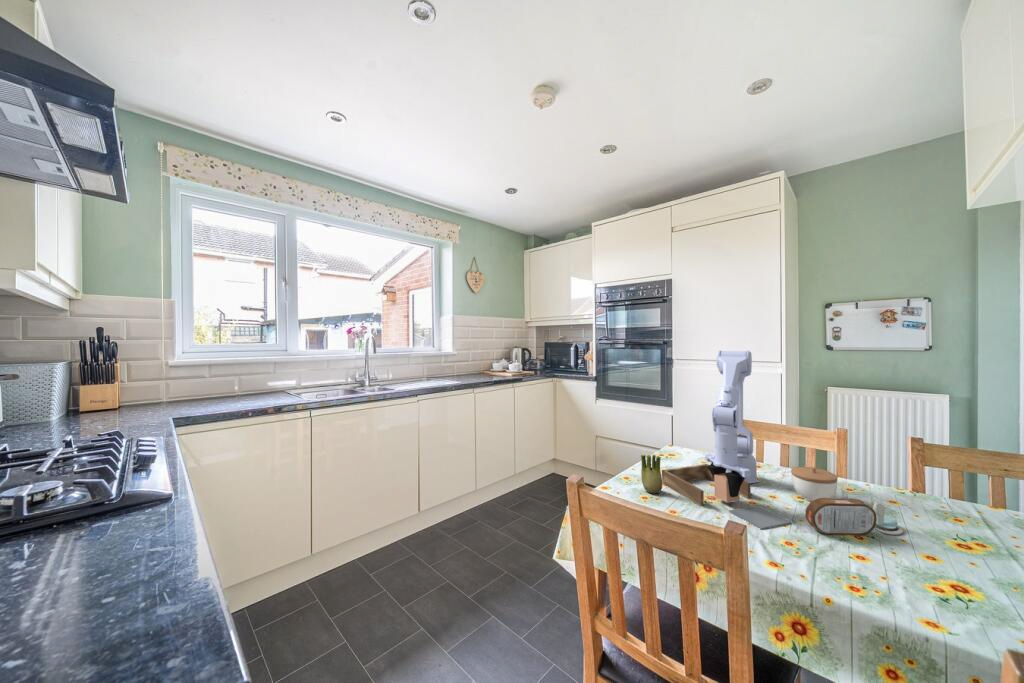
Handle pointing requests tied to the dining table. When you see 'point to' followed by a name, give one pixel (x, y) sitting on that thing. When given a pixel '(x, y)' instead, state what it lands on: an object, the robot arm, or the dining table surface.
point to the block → (723, 488)
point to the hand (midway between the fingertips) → (726, 492)
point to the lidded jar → (814, 483)
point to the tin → (841, 516)
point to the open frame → (680, 475)
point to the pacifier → (885, 521)
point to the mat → (760, 517)
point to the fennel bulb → (651, 474)
